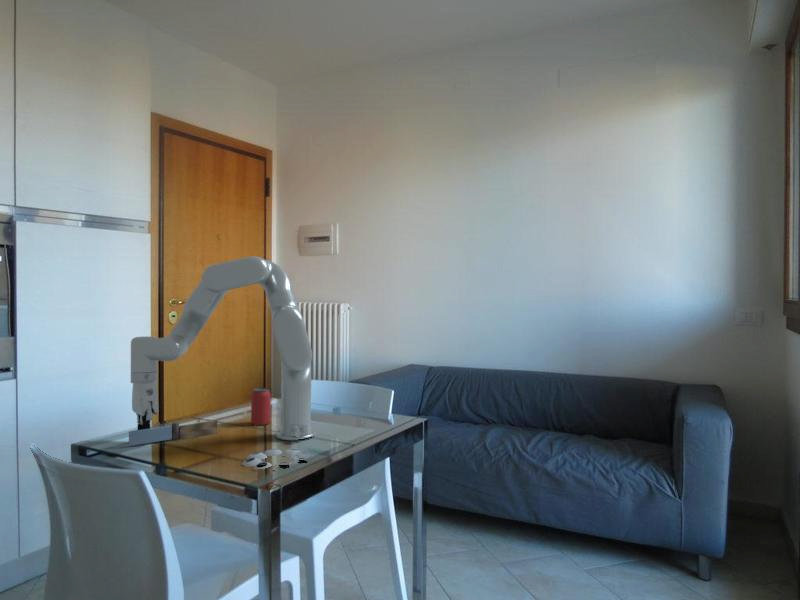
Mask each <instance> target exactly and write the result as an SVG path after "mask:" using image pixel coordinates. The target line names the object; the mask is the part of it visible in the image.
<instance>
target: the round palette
mask: <svg viewBox="0 0 800 600" xmlns="http://www.w3.org/2000/svg"><path fill="white" fill-rule="evenodd" d="M282 452H283V454H288V455H289V454H296V453H298V452H301V453H306V452H305V451H303V452H302V451H300V450H299V449H296V448H295V449H294V448H287V449H285V450H283V451H281V450H280V449H278V448H273V449H271V448H270V449H267V450H265V451H264V452H253V453H250V454H249V455H247V457H246V458H245V460H243V462H242V463H241V464H242V465H245V466H254V468H255V469H265V468H268V467H271V466H272V465H273V464H272V463H270V462H268V461H261V460H262V459H265V458H267V456H276V455H279V454H281V453H282ZM301 453H298V454H296V455H295V456H297V457H302V456H307V455H303V454H301ZM246 459H247V460H246ZM297 459H305V458H297ZM297 459H294V460H292V461H293V462H300V461H298V460H297ZM248 461H249V462H248ZM281 463H288V464H289V465H290V464H291V462H289V461H281V462H279V463H277V464H275V465H276V466H277V467H280V466H279V464H281ZM261 464H267V465H266V466H260V465H261ZM257 465H259V466H260V467H259V466H257Z"/></svg>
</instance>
